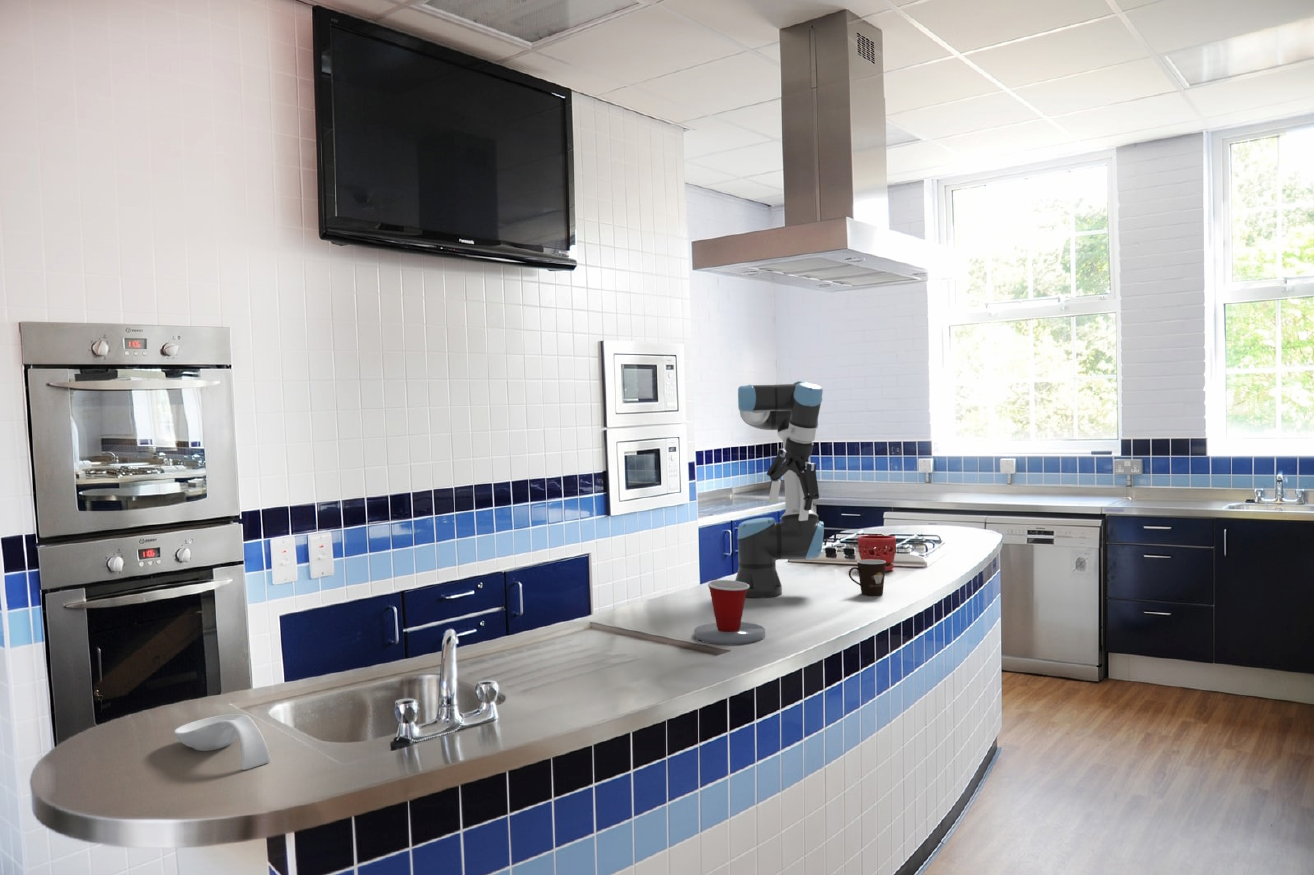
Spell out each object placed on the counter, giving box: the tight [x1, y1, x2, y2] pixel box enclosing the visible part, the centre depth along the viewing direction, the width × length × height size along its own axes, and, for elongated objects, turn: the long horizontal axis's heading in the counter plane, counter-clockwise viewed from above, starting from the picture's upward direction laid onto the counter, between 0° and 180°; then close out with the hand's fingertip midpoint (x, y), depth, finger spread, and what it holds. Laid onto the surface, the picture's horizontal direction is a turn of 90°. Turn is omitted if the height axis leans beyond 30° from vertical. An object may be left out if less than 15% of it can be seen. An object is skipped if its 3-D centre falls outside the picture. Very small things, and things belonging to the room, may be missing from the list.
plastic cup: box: [707, 579, 750, 632], centre depth 228 cm, size 11×11×12 cm
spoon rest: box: [173, 713, 271, 771], centre depth 156 cm, size 24×12×7 cm, turn 50°
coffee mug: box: [848, 559, 886, 597], centre depth 276 cm, size 12×9×10 cm
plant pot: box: [857, 534, 897, 572], centre depth 317 cm, size 13×13×12 cm
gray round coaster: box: [693, 621, 766, 645], centre depth 228 cm, size 18×18×2 cm
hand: (787, 511), depth 253 cm, fingers open, 13 cm apart
